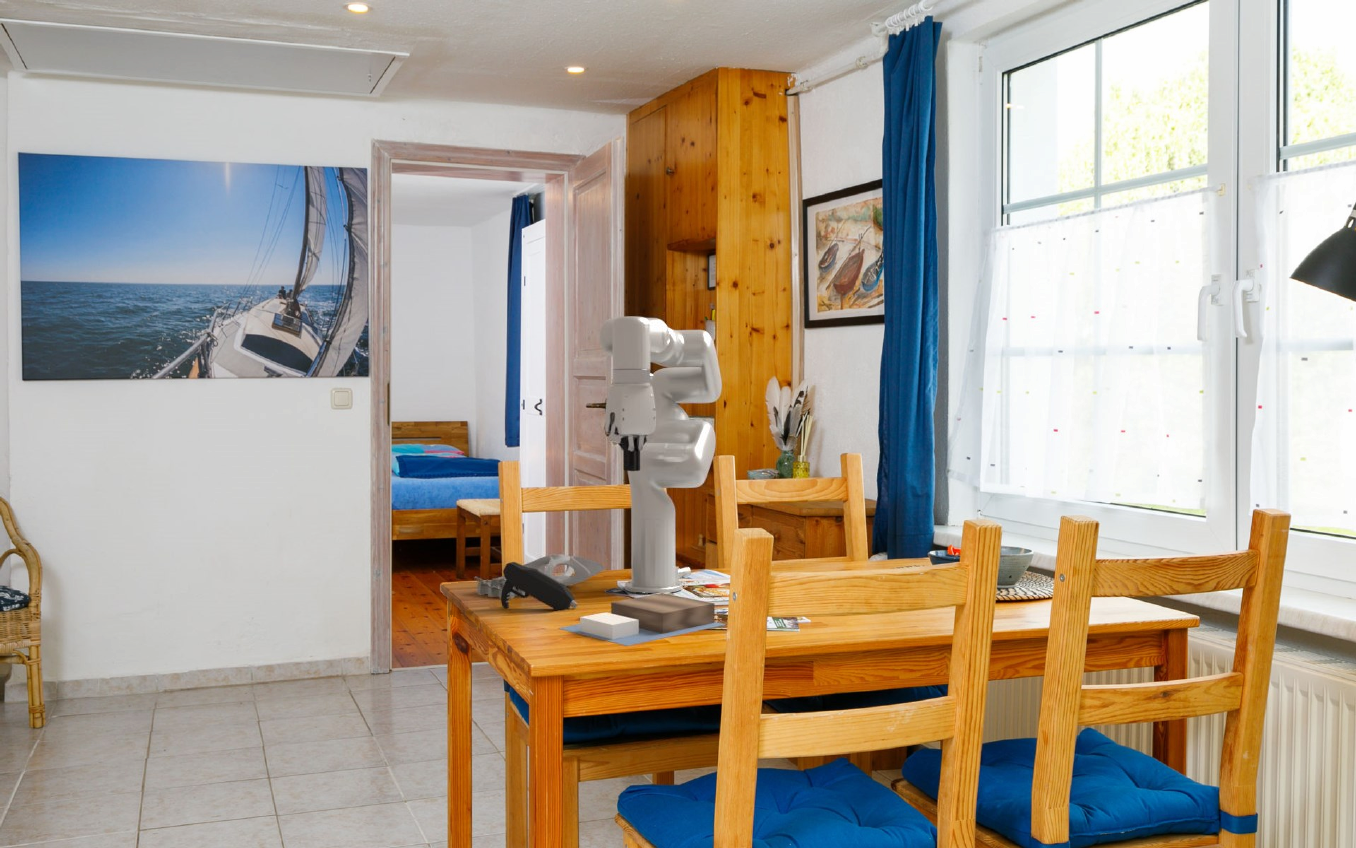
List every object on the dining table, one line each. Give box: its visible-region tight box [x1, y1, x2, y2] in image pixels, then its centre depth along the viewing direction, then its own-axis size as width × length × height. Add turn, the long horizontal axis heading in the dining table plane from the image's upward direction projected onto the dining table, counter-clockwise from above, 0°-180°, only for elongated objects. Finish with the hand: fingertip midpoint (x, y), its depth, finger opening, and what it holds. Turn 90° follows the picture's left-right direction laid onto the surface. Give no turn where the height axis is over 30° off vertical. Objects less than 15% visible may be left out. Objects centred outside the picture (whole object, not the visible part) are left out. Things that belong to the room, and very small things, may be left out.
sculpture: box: [522, 553, 605, 587], centre depth 249 cm, size 18×20×6 cm
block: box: [610, 593, 716, 634], centre depth 206 cm, size 13×14×4 cm
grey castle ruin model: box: [473, 575, 525, 600], centre depth 236 cm, size 11×8×4 cm
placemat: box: [557, 621, 727, 647], centre depth 202 cm, size 24×19×1 cm
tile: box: [579, 612, 639, 639], centre depth 197 cm, size 6×9×2 cm, turn 43°
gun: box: [500, 561, 578, 612], centre depth 220 cm, size 3×16×10 cm, turn 79°
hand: (631, 470), depth 223 cm, fingers closed
